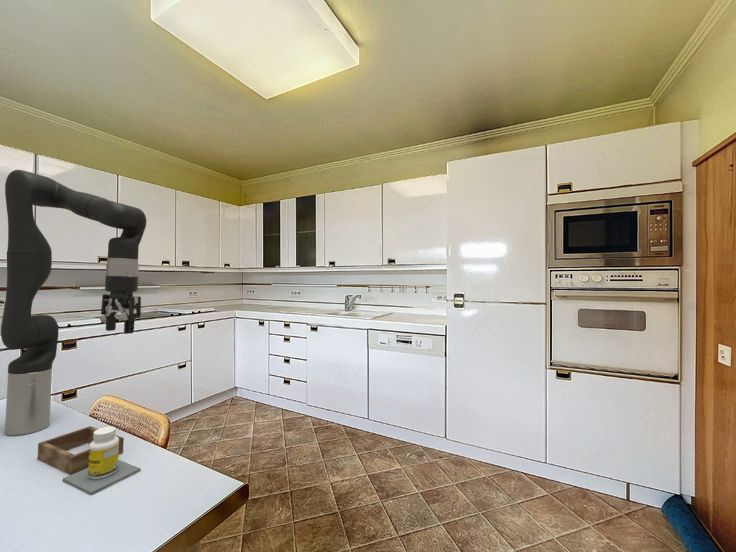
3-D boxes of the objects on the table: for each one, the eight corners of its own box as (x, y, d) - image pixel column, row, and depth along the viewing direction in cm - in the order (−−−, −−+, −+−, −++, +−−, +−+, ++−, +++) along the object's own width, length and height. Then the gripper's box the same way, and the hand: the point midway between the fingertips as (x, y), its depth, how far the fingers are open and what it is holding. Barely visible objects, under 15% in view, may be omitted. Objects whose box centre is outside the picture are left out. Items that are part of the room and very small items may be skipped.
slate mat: (62, 481, 74) (62, 478, 74) (112, 459, 83) (112, 457, 83) (91, 495, 69) (91, 492, 69) (140, 471, 78) (140, 468, 78)
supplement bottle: (82, 475, 75) (84, 431, 75) (110, 464, 80) (112, 423, 80) (95, 483, 72) (97, 437, 73) (122, 470, 77) (124, 428, 77)
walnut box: (37, 459, 82) (38, 443, 82) (89, 440, 92) (90, 426, 92) (71, 475, 76) (71, 457, 76) (123, 453, 86) (123, 437, 86)
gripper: (92, 273, 94) (89, 331, 94) (123, 275, 88) (120, 336, 88) (121, 274, 101) (118, 328, 101) (151, 275, 95) (149, 332, 95)
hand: (119, 331), depth 94 cm, fingers open, 8 cm apart
